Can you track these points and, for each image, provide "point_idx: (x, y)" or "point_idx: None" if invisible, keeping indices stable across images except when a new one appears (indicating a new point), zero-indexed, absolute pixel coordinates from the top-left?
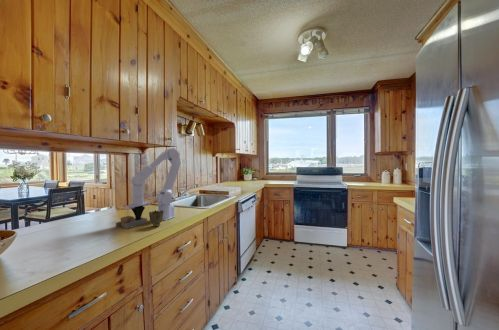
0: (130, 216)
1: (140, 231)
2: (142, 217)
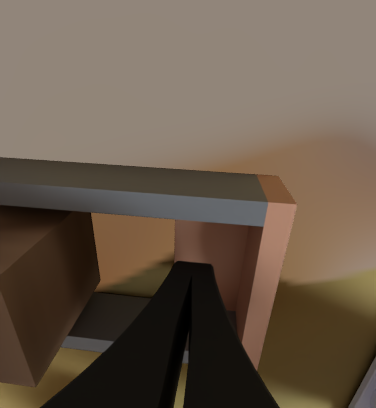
0: (6, 340)
1: (33, 405)
2: (271, 305)
